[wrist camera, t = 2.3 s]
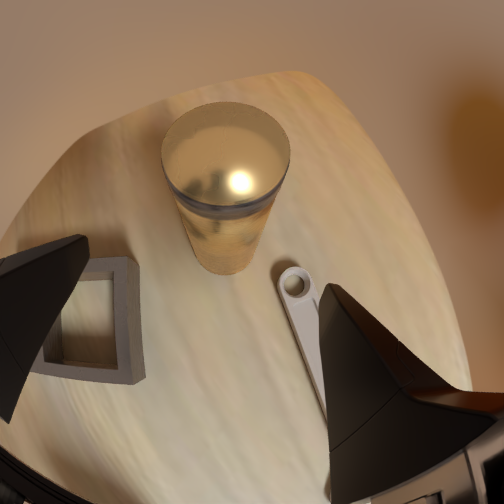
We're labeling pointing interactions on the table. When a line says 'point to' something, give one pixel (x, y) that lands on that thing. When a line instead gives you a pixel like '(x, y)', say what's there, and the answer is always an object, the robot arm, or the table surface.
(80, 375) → the grey rectangular holder
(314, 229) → the table surface
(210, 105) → the gold tin can
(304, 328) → the adjustable wrench
